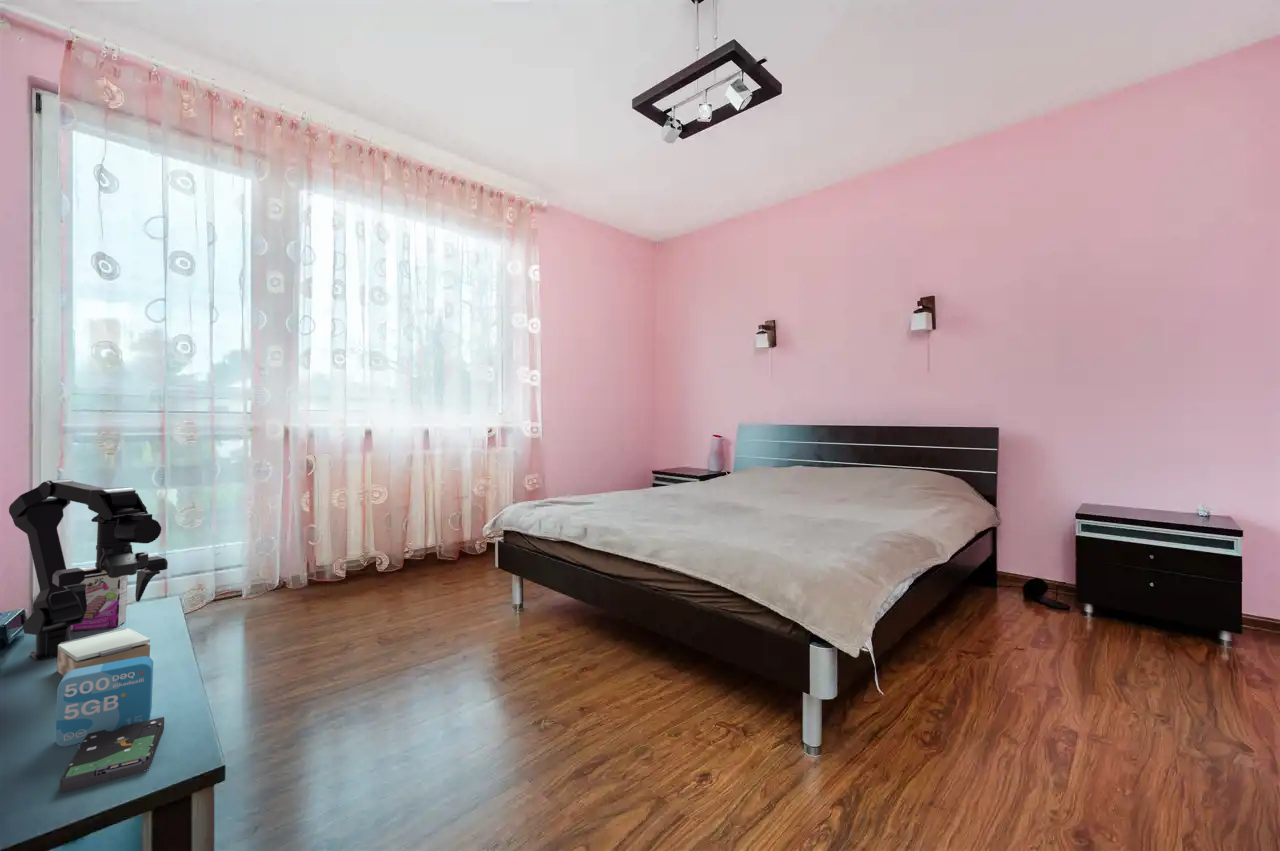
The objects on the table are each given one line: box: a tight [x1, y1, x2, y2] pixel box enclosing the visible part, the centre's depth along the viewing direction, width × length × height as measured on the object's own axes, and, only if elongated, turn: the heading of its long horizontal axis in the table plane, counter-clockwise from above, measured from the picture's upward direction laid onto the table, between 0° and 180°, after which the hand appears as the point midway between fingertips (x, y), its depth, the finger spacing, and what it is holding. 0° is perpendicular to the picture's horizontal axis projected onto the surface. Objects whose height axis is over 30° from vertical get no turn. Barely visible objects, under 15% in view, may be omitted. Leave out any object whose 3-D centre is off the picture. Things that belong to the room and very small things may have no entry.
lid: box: [58, 627, 151, 661], centre depth 121 cm, size 16×12×1 cm
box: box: [56, 643, 151, 677], centre depth 121 cm, size 14×12×5 cm
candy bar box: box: [71, 566, 129, 633], centre depth 146 cm, size 11×5×16 cm, turn 115°
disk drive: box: [59, 716, 165, 793], centre depth 89 cm, size 10×3×15 cm
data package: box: [55, 656, 154, 747], centre depth 96 cm, size 12×4×12 cm, turn 130°
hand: (111, 606), depth 125 cm, fingers open, 9 cm apart
